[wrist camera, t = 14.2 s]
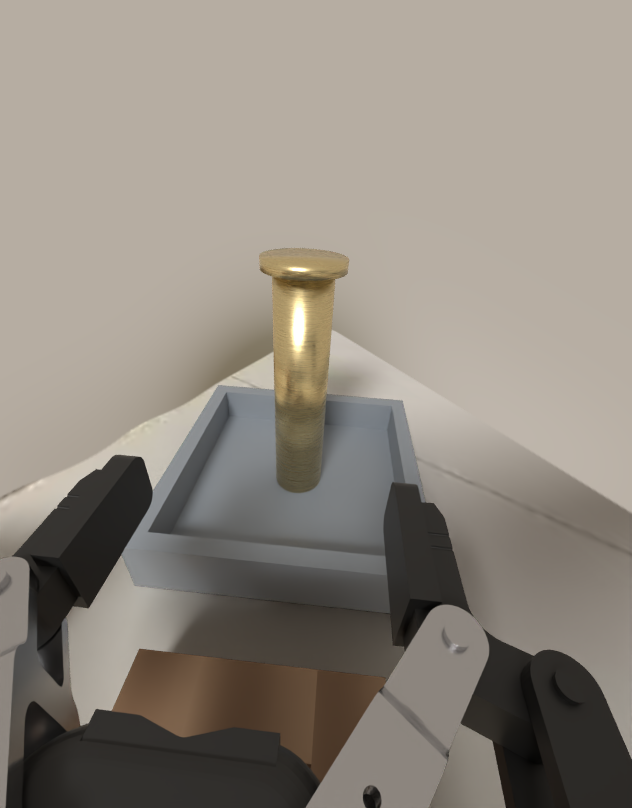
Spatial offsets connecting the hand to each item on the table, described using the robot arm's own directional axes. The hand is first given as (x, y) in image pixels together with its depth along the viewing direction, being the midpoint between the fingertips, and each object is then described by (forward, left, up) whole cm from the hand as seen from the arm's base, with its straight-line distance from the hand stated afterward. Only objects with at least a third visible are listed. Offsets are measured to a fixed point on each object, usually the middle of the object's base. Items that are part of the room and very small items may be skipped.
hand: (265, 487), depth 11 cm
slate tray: (0, -10, -11) cm, 15 cm away
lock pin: (0, -11, -10) cm, 15 cm away
